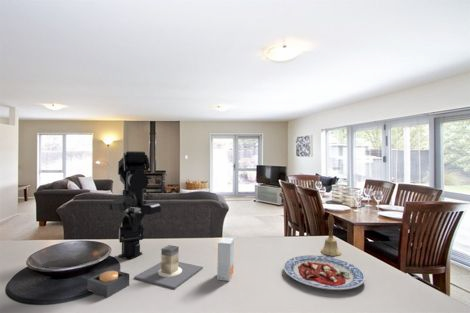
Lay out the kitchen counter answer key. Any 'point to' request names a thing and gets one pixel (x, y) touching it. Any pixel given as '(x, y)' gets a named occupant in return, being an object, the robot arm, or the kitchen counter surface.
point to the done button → (108, 276)
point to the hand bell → (330, 240)
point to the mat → (169, 280)
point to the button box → (108, 284)
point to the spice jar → (169, 259)
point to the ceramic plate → (324, 272)
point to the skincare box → (225, 259)
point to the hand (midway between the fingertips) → (134, 231)
